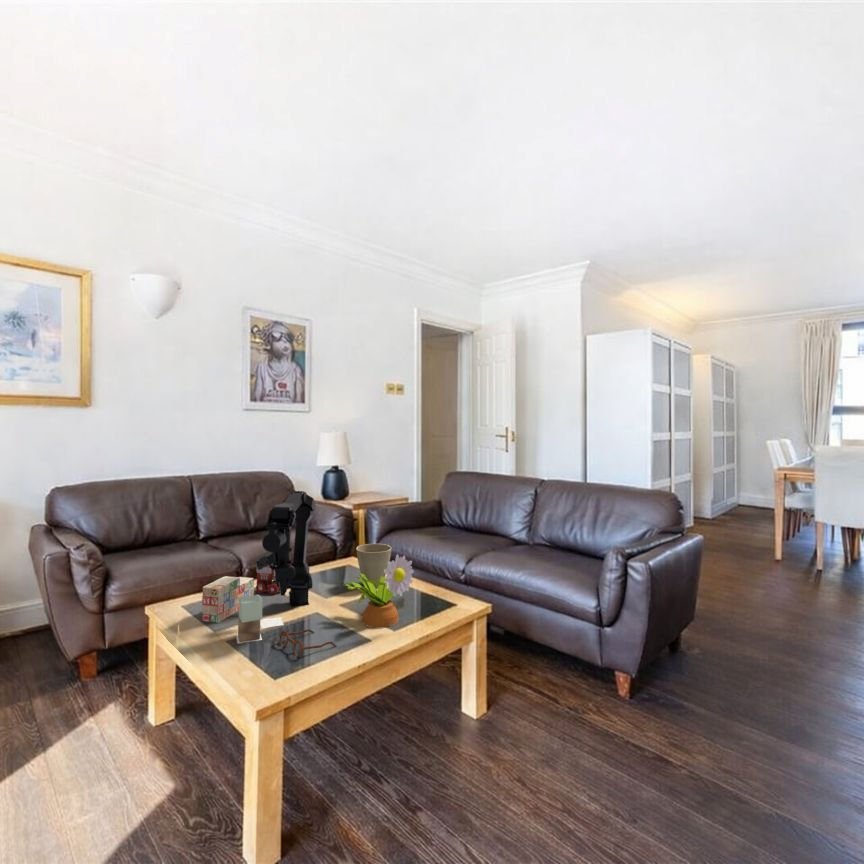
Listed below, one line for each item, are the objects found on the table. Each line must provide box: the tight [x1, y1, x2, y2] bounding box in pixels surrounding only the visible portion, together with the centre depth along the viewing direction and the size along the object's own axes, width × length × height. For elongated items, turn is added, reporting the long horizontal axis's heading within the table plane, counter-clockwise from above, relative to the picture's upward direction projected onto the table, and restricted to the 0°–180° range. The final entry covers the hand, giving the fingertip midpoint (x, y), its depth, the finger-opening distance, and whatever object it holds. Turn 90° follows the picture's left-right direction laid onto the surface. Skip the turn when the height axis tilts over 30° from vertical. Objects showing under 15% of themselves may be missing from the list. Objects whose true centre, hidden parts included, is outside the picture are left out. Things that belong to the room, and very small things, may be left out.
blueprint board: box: [235, 616, 285, 645], centre depth 160 cm, size 20×19×1 cm
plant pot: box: [355, 543, 392, 588], centre depth 210 cm, size 15×15×16 cm
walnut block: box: [237, 615, 261, 643], centre depth 156 cm, size 6×6×6 cm
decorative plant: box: [342, 553, 415, 628], centre depth 174 cm, size 27×24×25 cm
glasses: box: [278, 628, 337, 658], centre depth 152 cm, size 13×13×5 cm
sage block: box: [238, 594, 264, 623], centre depth 156 cm, size 6×6×6 cm
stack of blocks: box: [201, 575, 255, 624], centre depth 177 cm, size 21×6×12 cm, turn 168°
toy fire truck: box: [255, 565, 280, 595], centre depth 199 cm, size 7×12×10 cm, turn 82°
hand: (280, 591), depth 163 cm, fingers open, 9 cm apart
